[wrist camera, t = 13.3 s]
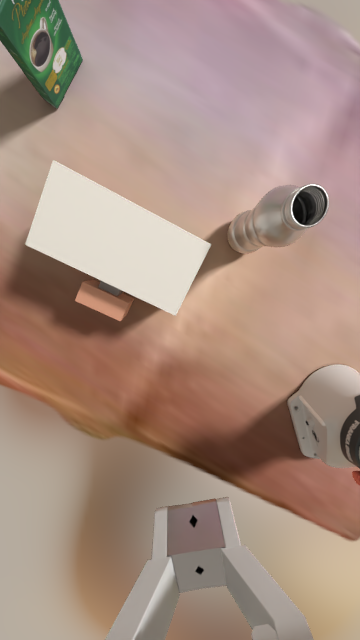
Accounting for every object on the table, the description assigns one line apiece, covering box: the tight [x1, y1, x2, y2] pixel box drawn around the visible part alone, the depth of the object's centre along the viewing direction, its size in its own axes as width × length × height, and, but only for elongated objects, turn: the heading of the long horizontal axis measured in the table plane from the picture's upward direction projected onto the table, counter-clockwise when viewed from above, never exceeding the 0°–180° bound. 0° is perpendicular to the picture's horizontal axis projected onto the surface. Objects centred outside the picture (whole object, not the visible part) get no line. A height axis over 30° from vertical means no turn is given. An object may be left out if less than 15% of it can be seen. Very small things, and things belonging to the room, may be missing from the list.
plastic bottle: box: [227, 184, 329, 254], centre depth 30 cm, size 6×7×20 cm
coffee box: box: [0, 0, 83, 108], centre depth 28 cm, size 8×3×13 cm, turn 144°
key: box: [75, 280, 134, 321], centre depth 34 cm, size 10×7×5 cm
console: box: [25, 160, 211, 316], centre depth 34 cm, size 10×20×13 cm, turn 64°
